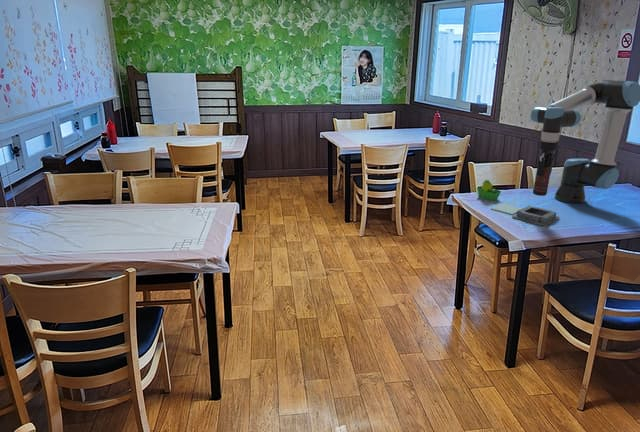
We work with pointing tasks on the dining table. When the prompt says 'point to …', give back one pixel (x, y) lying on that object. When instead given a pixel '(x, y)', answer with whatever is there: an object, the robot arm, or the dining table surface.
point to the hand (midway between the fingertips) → (540, 189)
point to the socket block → (536, 215)
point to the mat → (506, 209)
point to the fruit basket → (488, 191)
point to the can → (542, 182)
